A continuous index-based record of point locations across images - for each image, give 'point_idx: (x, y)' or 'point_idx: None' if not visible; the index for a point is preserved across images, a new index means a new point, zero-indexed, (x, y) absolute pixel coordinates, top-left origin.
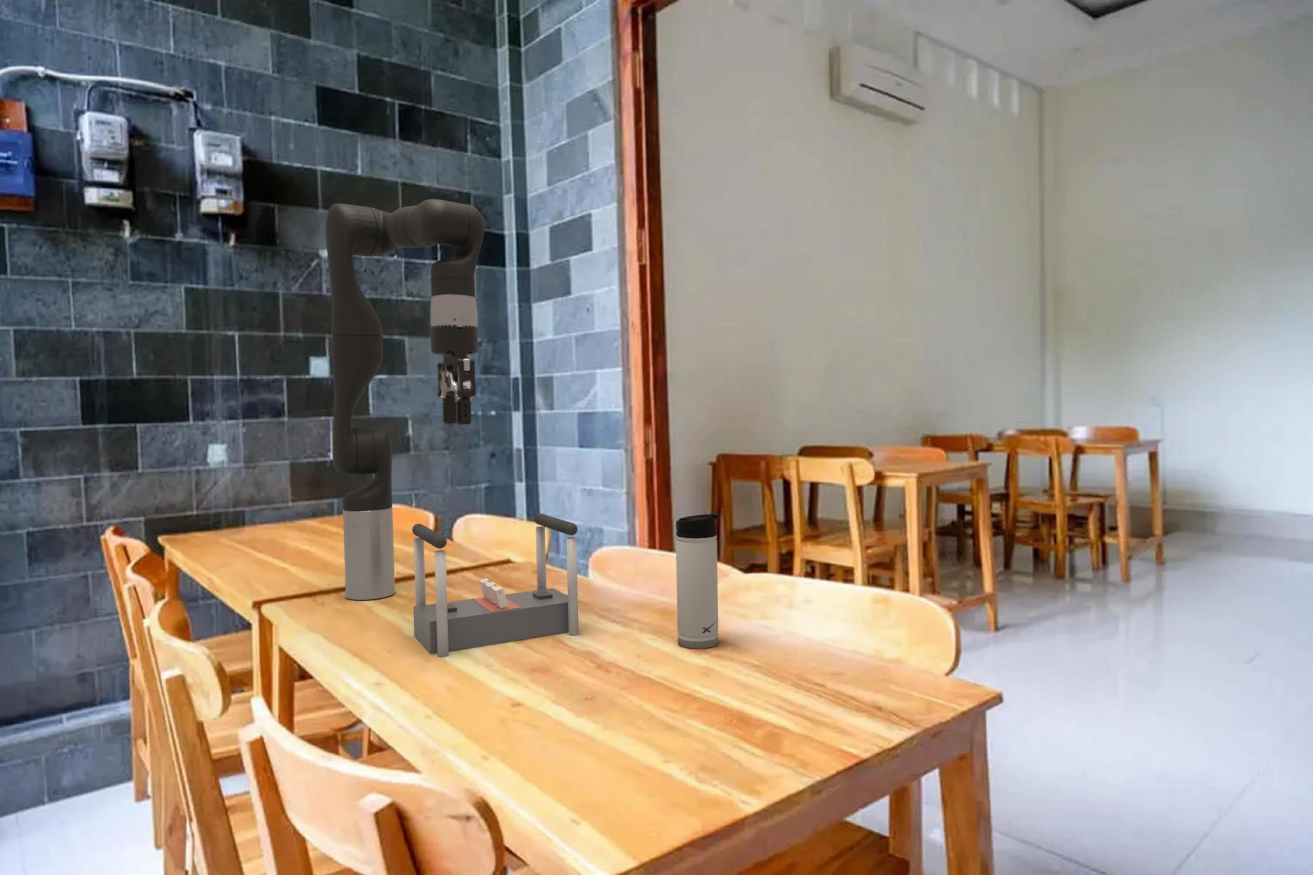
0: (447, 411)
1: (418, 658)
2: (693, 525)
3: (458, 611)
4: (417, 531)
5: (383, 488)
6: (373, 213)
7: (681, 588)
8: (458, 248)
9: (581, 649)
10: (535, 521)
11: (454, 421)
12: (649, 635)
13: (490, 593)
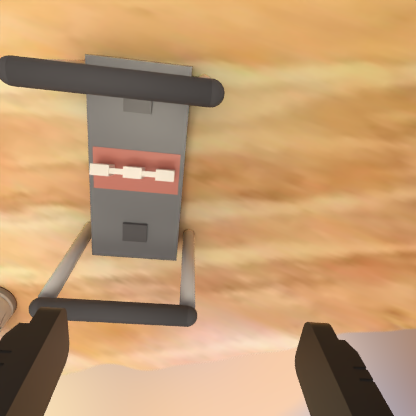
0: (325, 383)
1: (88, 34)
2: None
3: (122, 112)
4: (161, 73)
5: None
6: None
7: None
8: None
9: (28, 207)
10: (186, 306)
11: (298, 362)
12: (44, 281)
13: (128, 166)
